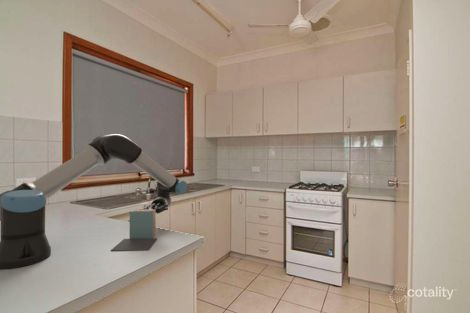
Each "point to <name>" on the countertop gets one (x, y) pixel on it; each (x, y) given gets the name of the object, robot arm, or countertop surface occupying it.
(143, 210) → the tile
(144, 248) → the mat
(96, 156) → the robot arm
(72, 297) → the countertop surface
